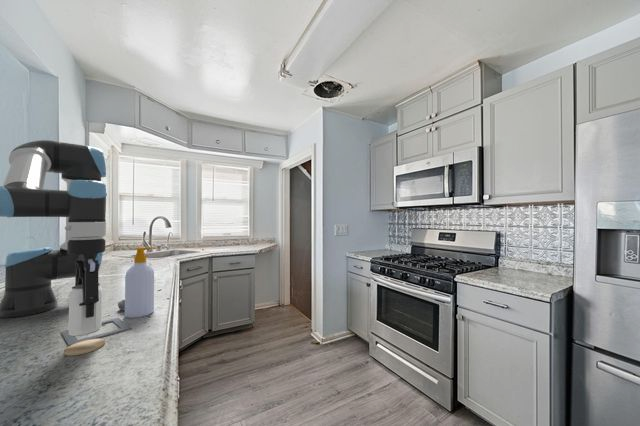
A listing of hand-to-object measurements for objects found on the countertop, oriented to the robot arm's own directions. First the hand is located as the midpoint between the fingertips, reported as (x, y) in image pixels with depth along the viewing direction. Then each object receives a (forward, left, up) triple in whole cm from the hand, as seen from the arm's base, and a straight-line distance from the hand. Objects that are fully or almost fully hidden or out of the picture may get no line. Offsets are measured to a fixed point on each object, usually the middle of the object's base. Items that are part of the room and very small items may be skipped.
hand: (85, 325), depth 68 cm
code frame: (-12, +5, -6) cm, 14 cm away
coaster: (0, 0, -6) cm, 6 cm away
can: (0, 0, -2) cm, 2 cm away
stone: (-27, +19, -6) cm, 33 cm away
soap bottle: (-18, +18, -6) cm, 26 cm away
